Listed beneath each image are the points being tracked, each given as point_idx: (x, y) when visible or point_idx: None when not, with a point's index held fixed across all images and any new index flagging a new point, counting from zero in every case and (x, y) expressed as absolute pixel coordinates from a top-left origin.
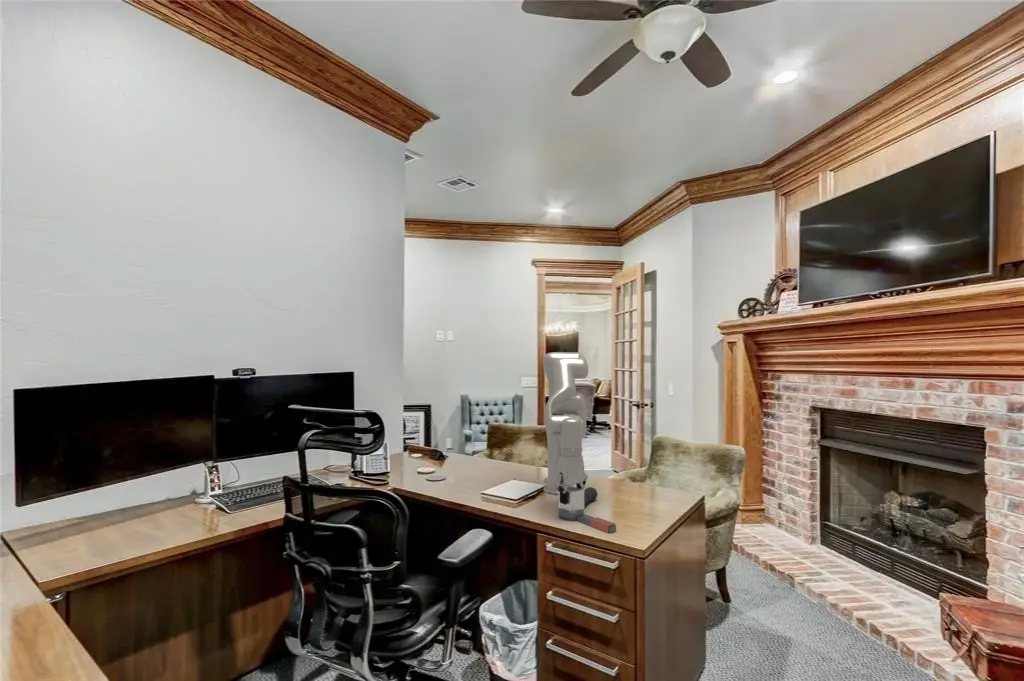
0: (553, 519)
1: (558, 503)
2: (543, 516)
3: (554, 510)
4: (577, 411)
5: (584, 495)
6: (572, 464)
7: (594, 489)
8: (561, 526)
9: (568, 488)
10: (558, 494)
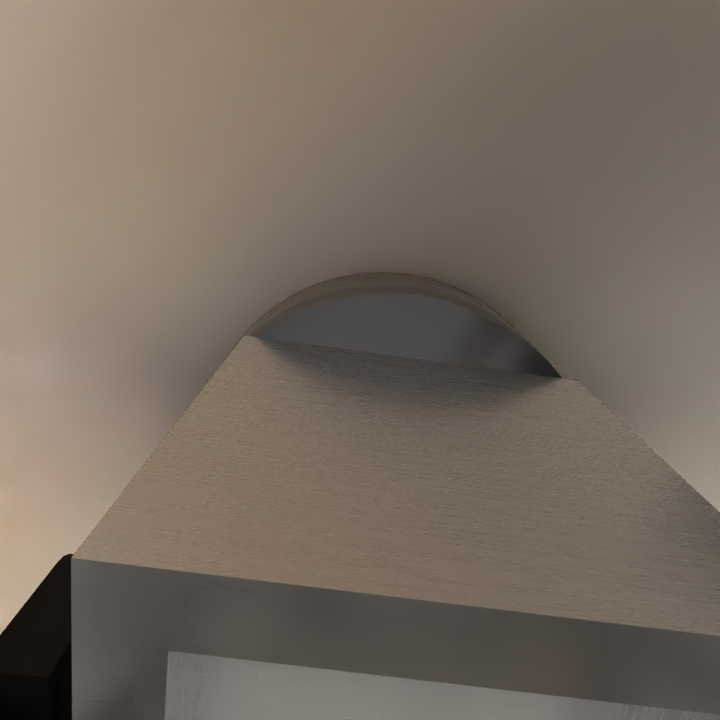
0: (107, 343)
1: (224, 362)
2: (76, 144)
3: (448, 61)
4: None
5: None
6: None
7: None
8: (10, 567)
9: (561, 656)
10: (158, 449)
